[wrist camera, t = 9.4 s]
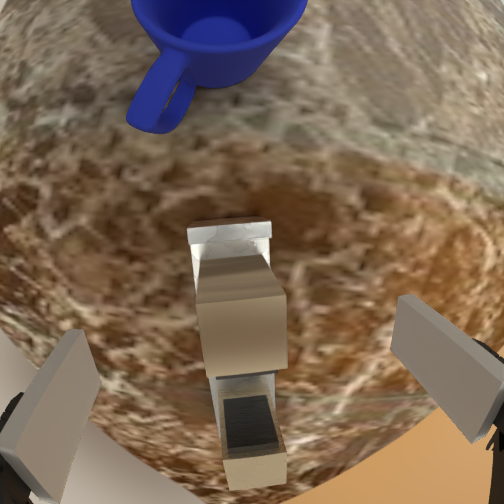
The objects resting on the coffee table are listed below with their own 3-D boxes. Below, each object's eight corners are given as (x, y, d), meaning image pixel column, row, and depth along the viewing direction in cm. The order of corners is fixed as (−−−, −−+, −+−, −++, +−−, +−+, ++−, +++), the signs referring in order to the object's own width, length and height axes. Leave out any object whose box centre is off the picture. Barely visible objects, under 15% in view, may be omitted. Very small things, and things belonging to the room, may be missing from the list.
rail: (191, 217, 23) (176, 253, 13) (260, 212, 23) (296, 243, 14) (218, 416, 27) (225, 500, 18) (270, 410, 28) (292, 491, 18)
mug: (115, 123, 20) (54, 96, 11) (193, -6, 18) (188, -86, 8) (216, 167, 22) (220, 164, 12) (288, 32, 20) (333, -35, 10)
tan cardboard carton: (200, 259, 20) (195, 304, 14) (261, 254, 21) (286, 295, 14) (207, 323, 22) (208, 386, 15) (265, 318, 22) (287, 377, 15)
